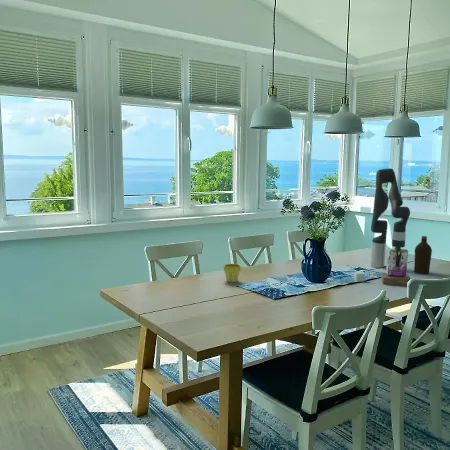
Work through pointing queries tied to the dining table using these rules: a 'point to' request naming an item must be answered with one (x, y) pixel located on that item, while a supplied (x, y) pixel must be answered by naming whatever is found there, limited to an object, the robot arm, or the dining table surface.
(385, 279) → the walnut plinth
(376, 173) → the robot arm
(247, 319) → the dining table surface
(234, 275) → the plant pot
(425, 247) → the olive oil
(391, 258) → the candy bar box
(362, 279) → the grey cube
